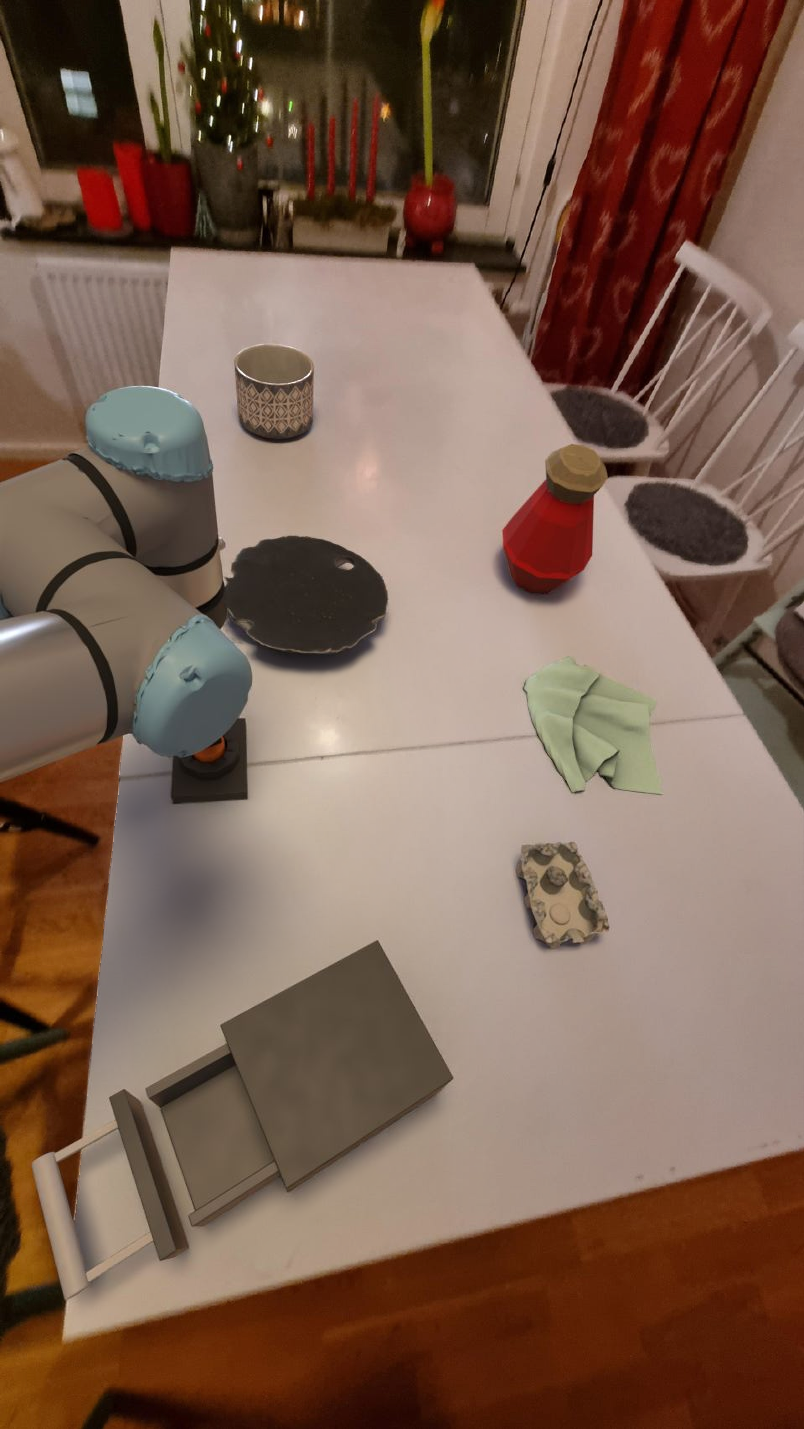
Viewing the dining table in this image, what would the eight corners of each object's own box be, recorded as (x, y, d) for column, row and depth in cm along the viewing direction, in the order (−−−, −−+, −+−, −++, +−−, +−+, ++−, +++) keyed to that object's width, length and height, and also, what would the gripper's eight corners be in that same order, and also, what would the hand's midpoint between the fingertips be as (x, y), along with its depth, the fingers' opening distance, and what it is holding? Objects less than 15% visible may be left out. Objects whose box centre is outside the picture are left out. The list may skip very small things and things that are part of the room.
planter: (262, 395, 125) (260, 336, 117) (325, 418, 123) (327, 359, 115) (224, 428, 118) (218, 368, 110) (290, 453, 116) (289, 393, 108)
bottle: (502, 530, 111) (537, 413, 95) (584, 553, 110) (634, 439, 94) (482, 594, 102) (517, 477, 85) (572, 620, 101) (624, 506, 85)
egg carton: (599, 946, 72) (614, 933, 69) (531, 951, 71) (542, 939, 68) (573, 851, 79) (586, 835, 75) (510, 855, 77) (519, 839, 74)
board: (352, 549, 104) (354, 522, 100) (410, 656, 93) (415, 629, 89) (204, 577, 97) (200, 549, 93) (248, 696, 86) (245, 669, 82)
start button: (225, 764, 77) (224, 756, 76) (191, 766, 76) (189, 758, 75) (225, 737, 79) (224, 728, 78) (192, 739, 78) (190, 730, 77)
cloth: (556, 643, 97) (561, 631, 96) (700, 726, 92) (708, 716, 90) (481, 735, 87) (485, 724, 85) (638, 836, 81) (647, 826, 79)
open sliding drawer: (89, 1312, 51) (63, 1323, 45) (47, 1152, 56) (20, 1145, 50) (332, 1153, 58) (335, 1146, 53) (275, 1025, 63) (273, 1007, 58)
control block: (247, 799, 77) (245, 783, 75) (172, 804, 76) (168, 788, 73) (246, 725, 83) (244, 708, 80) (176, 729, 82) (172, 711, 79)
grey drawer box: (287, 1192, 57) (286, 1188, 50) (228, 1046, 63) (219, 1024, 56) (436, 1094, 62) (454, 1078, 56) (369, 967, 68) (377, 939, 61)
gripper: (252, 623, 56) (263, 775, 75) (193, 524, 62) (217, 688, 81) (159, 652, 53) (195, 802, 72) (106, 545, 59) (153, 710, 78)
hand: (207, 741), depth 76 cm, fingers closed
